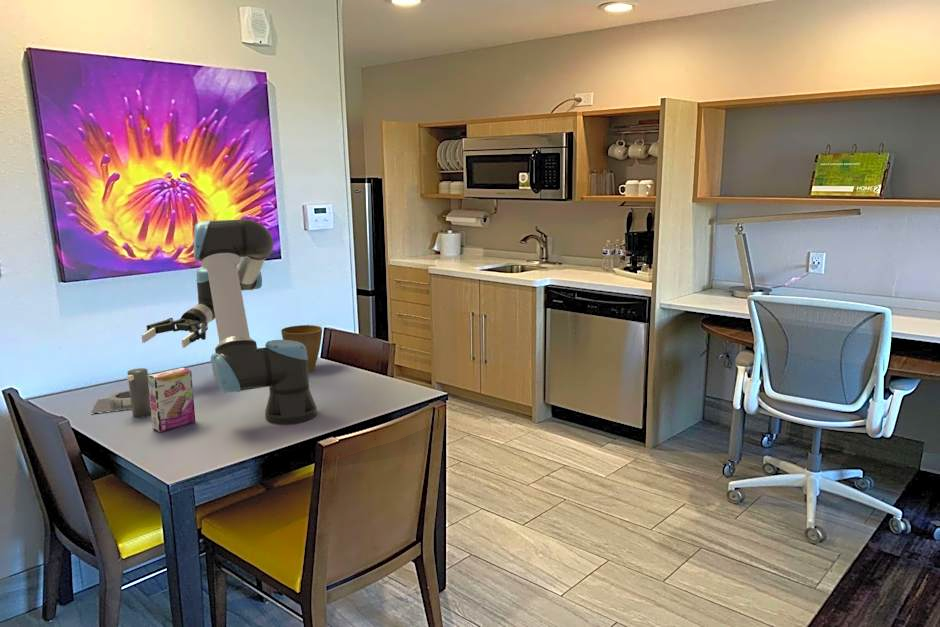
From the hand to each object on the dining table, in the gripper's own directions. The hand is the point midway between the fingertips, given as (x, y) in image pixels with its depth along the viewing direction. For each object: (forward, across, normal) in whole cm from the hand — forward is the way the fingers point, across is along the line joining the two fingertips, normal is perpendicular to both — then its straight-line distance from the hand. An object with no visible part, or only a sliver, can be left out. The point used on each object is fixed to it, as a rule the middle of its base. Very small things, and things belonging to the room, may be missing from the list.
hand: (162, 341), depth 218 cm
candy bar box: (+23, -16, -16) cm, 32 cm away
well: (+5, +10, -21) cm, 24 cm away
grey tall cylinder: (+14, 0, -19) cm, 24 cm away
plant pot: (-37, -33, -23) cm, 54 cm away
